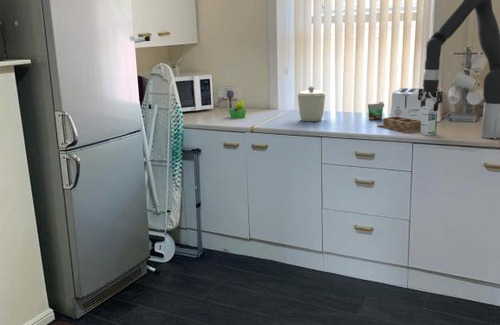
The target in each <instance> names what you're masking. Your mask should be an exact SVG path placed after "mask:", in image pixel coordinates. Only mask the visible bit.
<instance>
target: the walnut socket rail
mask: <svg viewBox="0 0 500 325" xmlns="http://www.w3.org/2000/svg"><path fill="white" fill-rule="evenodd" d="M377 127H379V128H382V129H386V130H387V129H388V130H391V131H395V132H401V133H405V134H412V133H418V132H420V133H421V119H420V120H419V119H413V118H408V117H403V116H398V115H397V116H396V115H395V116H390V117H383V123H381V124H377Z"/></svg>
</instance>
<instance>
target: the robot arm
mask: <svg viewBox="0 0 500 325" xmlns="http://www.w3.org/2000/svg"><path fill="white" fill-rule="evenodd" d="M473 11H475V14H476V16H475V17H476V28H477V36H478V42H479V45H480V48H481V51H482V52H483V54H484V56H485V57H486V60H487V63H488V68H489V71H488V72H486V74H485V76H484V80H483V90H482V91H483V92H482V94H483V101H484V102H483V111H482V121H481V122H482V123H481V124H482V125H481V135H480V136H482V138H483V137H484V139H489V138H493V140H498V139H497V138H499V139H500V28H499V24H498V21H497V18H496V17H495V14H494V10H493V3H492V0H463V1H462V2H461V3H460V4H459V6H458V7H457V8H456V9H455V10H454V11H453V12H452V13H451V15H449V16H448V18H447V19H446V20H445V21H444V22H443V24H442V25H440V26H439V28H438V30H437V31H436V32H434V34H432V36H431V37H430V38H429V39H428V40H427V41H426V43H425V48H426V52H425V54H426V55H425V62H424V70H423V80H422V88H419V89H418V94H417V100H418V101H420V108H421V107H423V106H426V100H427V99H430V100H431V101H432V102H433V106H434V109H433V111H437V112H438V110H439V105H440V104H441V103H443V94H444V93H443V90H438V89H439V86H440V66H441V64H440V63H441V61H440V59H441V52H442V46H443V45H444V44H445V43H446V41H447V40H448V39H450V38H451V37H452V36H453V35H454V34H455V33H456V31H457V30H458V29H459V28H460V27H461V26H462V25H463V23H464V22H465V21H466V19H467V17H469V15H470V14H471V13H472V12H473Z"/></svg>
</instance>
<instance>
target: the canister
mask: <svg viewBox="0 0 500 325" xmlns="http://www.w3.org/2000/svg"><path fill="white" fill-rule="evenodd" d="M307 89H308V90H302V91H300V92H298V93H297V94H296V96H297V103H298V112H299V116H300V120H301V121H304V122H319V121H321V120H322V119H323V117H324V116H323V115H324V109H325V99H326V96H327V93H326V92H324V91H323V90H315V87H314V86H309V87H308V88H307Z"/></svg>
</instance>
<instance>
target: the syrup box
mask: <svg viewBox="0 0 500 325" xmlns="http://www.w3.org/2000/svg"><path fill="white" fill-rule="evenodd" d="M420 109H421V110H420V111H421V113H420V121H421V131H420V134H421V135H426V136H430V135H431V136H433V135H437V123H438V120H437V119H438V111H433V109H434V105H425V106H423V107H421V106H420Z"/></svg>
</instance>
